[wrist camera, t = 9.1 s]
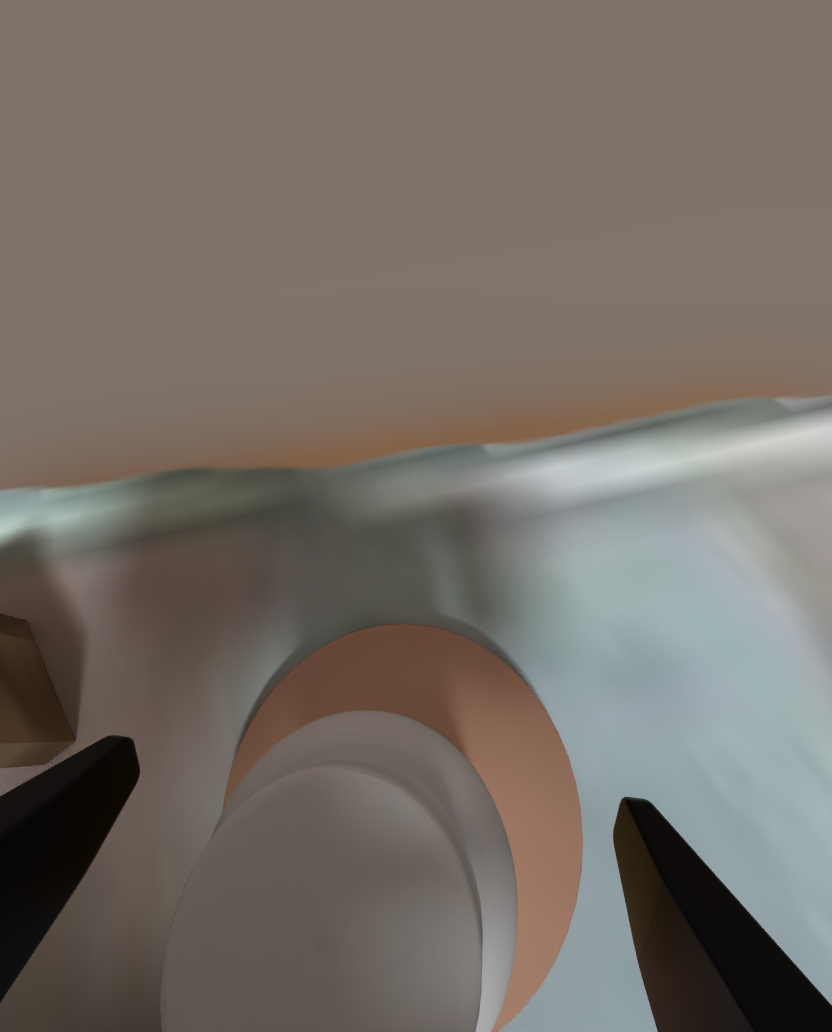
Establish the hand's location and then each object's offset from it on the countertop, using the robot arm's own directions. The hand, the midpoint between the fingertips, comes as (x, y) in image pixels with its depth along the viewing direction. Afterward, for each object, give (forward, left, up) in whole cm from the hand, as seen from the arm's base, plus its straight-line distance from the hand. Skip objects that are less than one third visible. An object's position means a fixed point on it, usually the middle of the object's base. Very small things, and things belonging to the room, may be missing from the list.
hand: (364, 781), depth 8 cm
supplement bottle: (-1, +1, -8) cm, 8 cm away
